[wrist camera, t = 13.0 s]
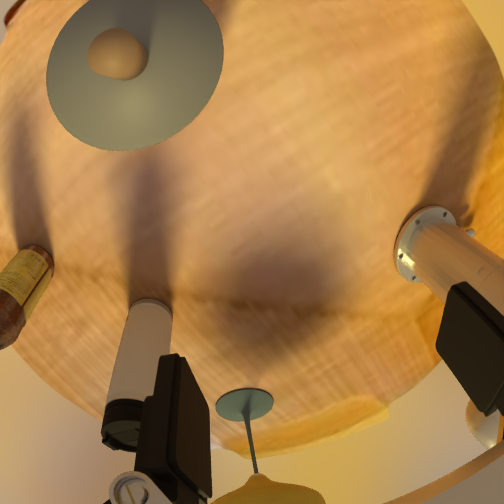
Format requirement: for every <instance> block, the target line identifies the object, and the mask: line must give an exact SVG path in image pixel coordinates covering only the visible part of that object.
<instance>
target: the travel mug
mask: <svg viewBox="0 0 504 504" xmlns="http://www.w3.org/2000/svg"><path fill="white" fill-rule="evenodd" d="M172 321H173V317H172V313H171V311H170V309H169V308H168V307H167V306H166V305H165V304H163V303H162V302H160V301H158V300H155V299H141V300H138V301H136V302H135V303H133V304H132V306H131V307H130V309H129V313H128V316H127V320H126V323H125V327H124V330H123V334H122V338H121V341H120V345H119V349H118V353H117V357H116V361H115V365H114V369H113V373H112V378H111V382H110V386H109V391H108V396H107V400H106V405H105V414H104V418H103V424H102V429H101V434H102V437H103V439H102V443H103V444H105V445H106V446H108V447H109V448H111V449H112V450H119V449H120V450H123V451H127V452H135V453H136V451H137V444H138V436H139V430H140V423H141V416H142V410H143V404H144V400H145V398H146V397H147V396H151V395H153V392H154V386H155V380H156V373H157V367H158V361H159V357H160V356H161V355H168V354H170V342H171V331H172Z"/></svg>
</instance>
